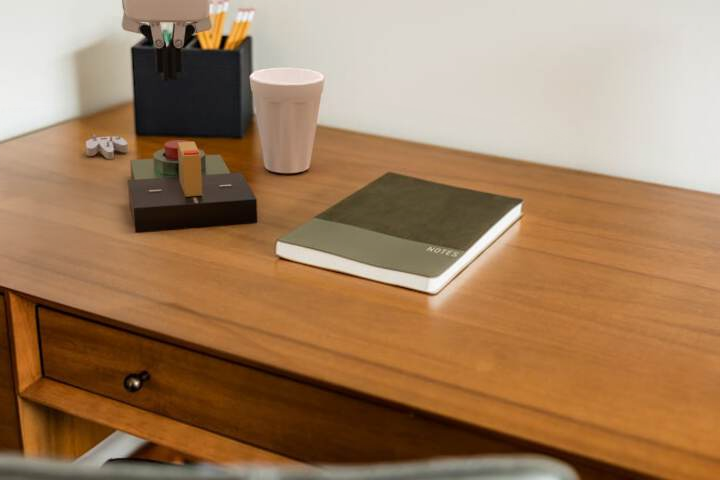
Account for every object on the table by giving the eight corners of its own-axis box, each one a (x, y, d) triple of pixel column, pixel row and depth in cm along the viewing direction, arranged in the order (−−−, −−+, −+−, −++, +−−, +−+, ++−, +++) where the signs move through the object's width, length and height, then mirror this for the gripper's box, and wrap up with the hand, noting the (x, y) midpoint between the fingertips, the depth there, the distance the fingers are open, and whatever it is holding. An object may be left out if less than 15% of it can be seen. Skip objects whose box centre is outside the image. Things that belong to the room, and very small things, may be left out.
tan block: (179, 181, 109) (177, 140, 107) (196, 180, 110) (194, 139, 108) (185, 197, 105) (183, 153, 102) (202, 195, 105) (200, 152, 103)
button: (166, 162, 115) (166, 148, 114) (163, 153, 118) (163, 140, 117) (195, 160, 116) (194, 147, 115) (191, 152, 119) (190, 139, 118)
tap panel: (135, 232, 102) (133, 206, 101) (129, 202, 111) (127, 178, 110) (257, 222, 106) (256, 197, 105) (241, 194, 115) (241, 170, 114)
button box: (136, 198, 112) (134, 167, 111) (131, 175, 120) (129, 146, 119) (232, 191, 116) (231, 161, 114) (220, 169, 124) (219, 141, 122)
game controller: (98, 162, 125) (96, 144, 124) (57, 144, 132) (55, 127, 131) (134, 154, 129) (132, 136, 128) (92, 137, 136) (90, 120, 135)
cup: (287, 185, 118) (287, 87, 113) (235, 168, 124) (233, 74, 119) (338, 169, 126) (340, 76, 120) (287, 153, 131) (287, 64, 126)
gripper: (221, -78, 111) (223, 71, 118) (95, -82, 106) (105, 73, 113) (232, -74, 104) (233, 83, 111) (98, -78, 100) (108, 86, 107)
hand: (168, 78), depth 112 cm, fingers closed
